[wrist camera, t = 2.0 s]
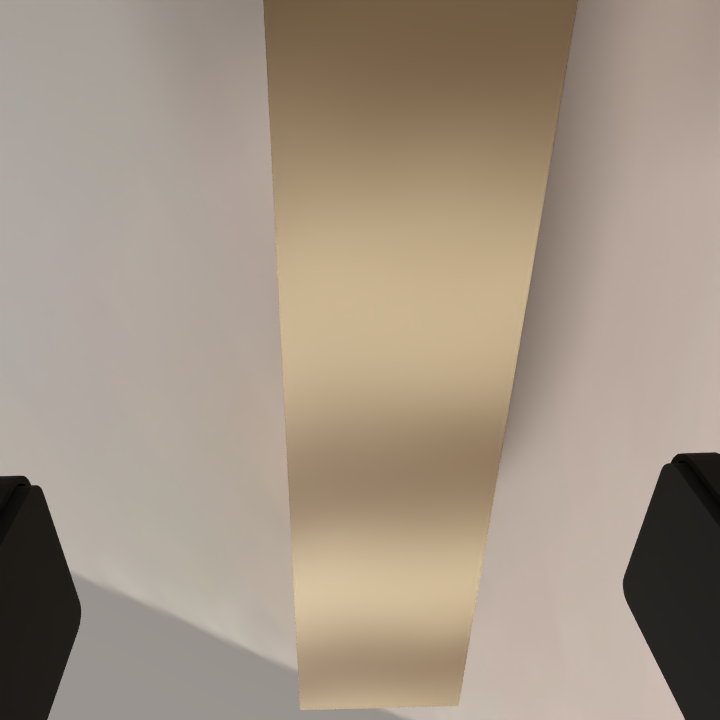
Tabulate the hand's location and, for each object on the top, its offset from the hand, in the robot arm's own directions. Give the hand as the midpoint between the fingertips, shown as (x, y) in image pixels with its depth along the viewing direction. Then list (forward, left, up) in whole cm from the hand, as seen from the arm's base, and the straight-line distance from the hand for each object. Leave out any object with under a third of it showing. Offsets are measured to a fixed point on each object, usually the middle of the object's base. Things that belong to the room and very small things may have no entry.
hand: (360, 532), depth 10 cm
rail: (-1, 0, -8) cm, 8 cm away
